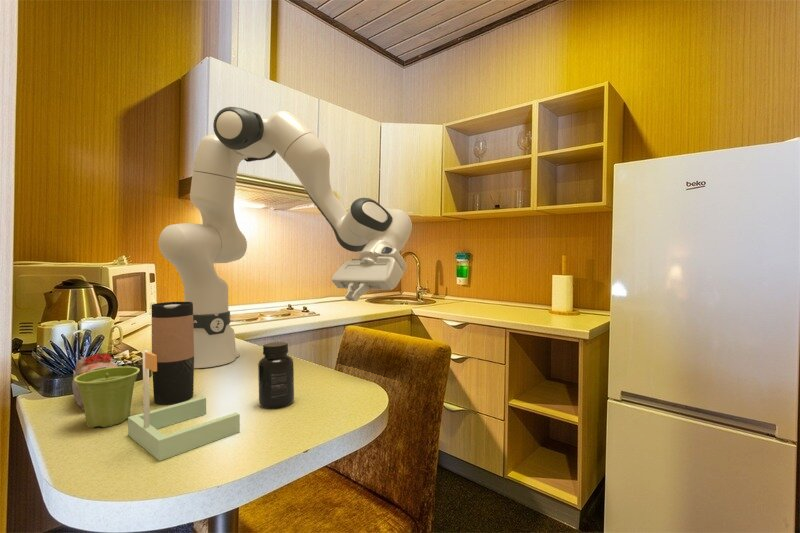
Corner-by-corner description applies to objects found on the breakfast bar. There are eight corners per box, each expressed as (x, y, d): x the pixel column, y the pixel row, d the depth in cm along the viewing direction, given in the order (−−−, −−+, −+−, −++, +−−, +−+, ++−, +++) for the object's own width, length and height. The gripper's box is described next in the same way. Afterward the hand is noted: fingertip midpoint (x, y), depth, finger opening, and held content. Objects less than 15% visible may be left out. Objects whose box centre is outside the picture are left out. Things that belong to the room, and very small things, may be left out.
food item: (126, 405, 78) (126, 356, 78) (75, 416, 72) (74, 364, 72) (114, 389, 88) (113, 345, 88) (68, 398, 82) (67, 351, 82)
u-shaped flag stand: (128, 435, 64) (126, 345, 64) (203, 412, 74) (202, 333, 74) (159, 461, 56) (157, 357, 56) (239, 431, 65) (238, 343, 65)
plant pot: (149, 418, 71) (148, 371, 71) (86, 437, 63) (85, 385, 63) (127, 407, 76) (126, 363, 76) (66, 424, 69) (65, 375, 68)
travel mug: (177, 390, 86) (176, 301, 86) (202, 395, 83) (201, 302, 83) (143, 402, 79) (142, 304, 79) (170, 407, 76) (168, 306, 76)
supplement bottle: (299, 397, 82) (298, 340, 81) (286, 410, 75) (285, 348, 75) (267, 396, 82) (267, 340, 82) (252, 409, 75) (251, 347, 75)
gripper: (343, 251, 106) (315, 289, 99) (401, 248, 93) (374, 292, 86) (355, 267, 110) (329, 305, 102) (412, 266, 97) (388, 310, 89)
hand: (350, 299), depth 94 cm, fingers closed
